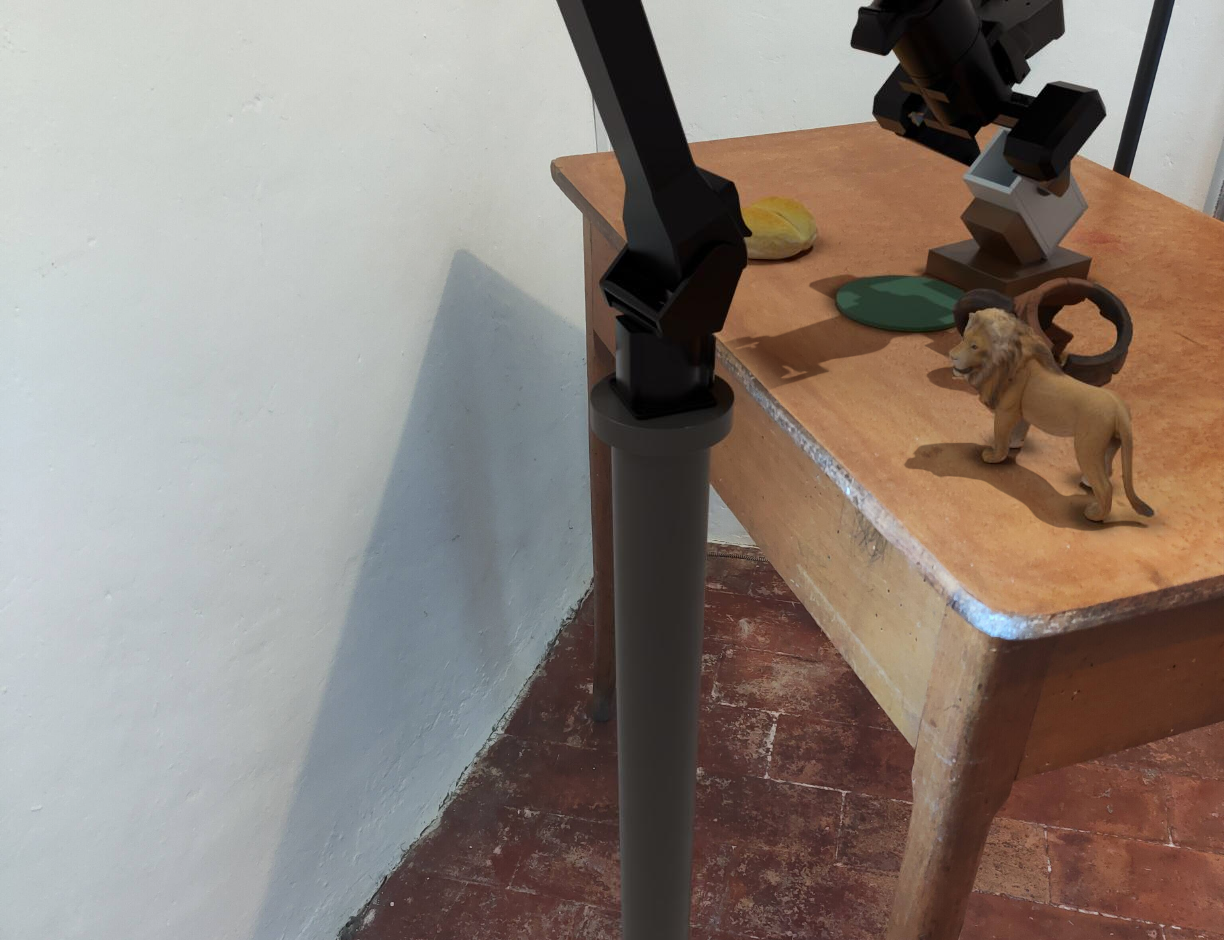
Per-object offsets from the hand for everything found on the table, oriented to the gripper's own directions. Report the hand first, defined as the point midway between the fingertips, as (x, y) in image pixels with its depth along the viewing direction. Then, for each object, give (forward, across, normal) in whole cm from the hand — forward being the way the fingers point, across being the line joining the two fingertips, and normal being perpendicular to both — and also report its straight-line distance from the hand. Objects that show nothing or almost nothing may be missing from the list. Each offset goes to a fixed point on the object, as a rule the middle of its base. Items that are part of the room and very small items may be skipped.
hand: (1019, 177), depth 86 cm
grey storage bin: (+5, 0, +4) cm, 7 cm away
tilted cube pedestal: (+6, 0, +5) cm, 8 cm away
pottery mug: (-3, -15, +15) cm, 21 cm away
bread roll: (-2, +17, +14) cm, 23 cm away
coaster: (-2, 0, +14) cm, 14 cm away
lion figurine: (-10, -24, +22) cm, 34 cm away
